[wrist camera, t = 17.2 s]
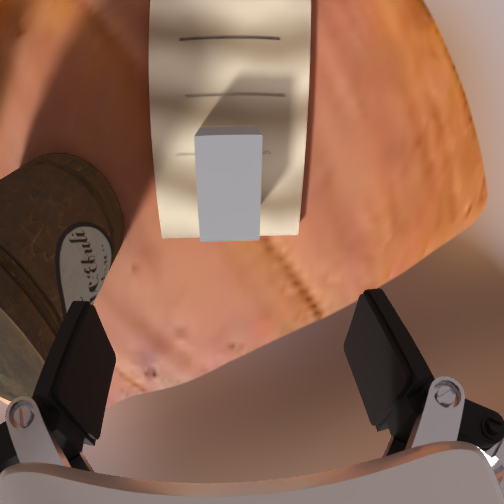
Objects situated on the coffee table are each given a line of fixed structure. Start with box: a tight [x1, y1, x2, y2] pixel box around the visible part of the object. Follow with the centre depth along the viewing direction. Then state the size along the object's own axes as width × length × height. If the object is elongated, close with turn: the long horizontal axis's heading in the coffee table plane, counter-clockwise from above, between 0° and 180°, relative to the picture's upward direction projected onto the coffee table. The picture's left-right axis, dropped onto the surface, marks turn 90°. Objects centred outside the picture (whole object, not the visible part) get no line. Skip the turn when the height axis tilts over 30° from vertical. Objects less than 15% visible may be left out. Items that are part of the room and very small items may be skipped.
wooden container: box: [0, 153, 123, 401], centre depth 18 cm, size 15×15×22 cm
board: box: [149, 0, 311, 238], centre depth 23 cm, size 24×13×2 cm, turn 179°
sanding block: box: [194, 125, 263, 242], centre depth 23 cm, size 8×4×5 cm, turn 179°
